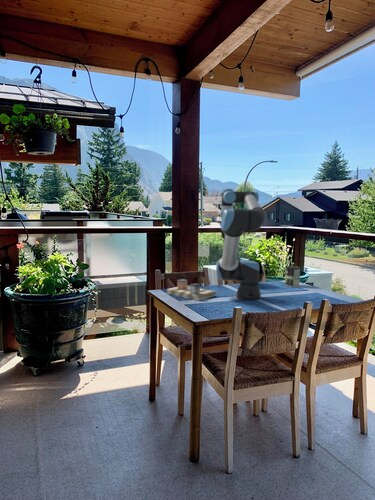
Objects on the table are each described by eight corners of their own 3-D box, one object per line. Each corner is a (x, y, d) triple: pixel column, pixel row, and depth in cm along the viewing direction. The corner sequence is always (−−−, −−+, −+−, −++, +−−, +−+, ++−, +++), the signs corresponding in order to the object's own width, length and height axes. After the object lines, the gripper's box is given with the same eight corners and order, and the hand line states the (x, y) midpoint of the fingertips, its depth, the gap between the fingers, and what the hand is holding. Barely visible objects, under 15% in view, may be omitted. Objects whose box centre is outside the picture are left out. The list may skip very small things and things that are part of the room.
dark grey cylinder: (255, 289, 251) (256, 262, 249) (230, 285, 263) (231, 259, 261) (267, 285, 267) (269, 259, 265) (243, 281, 279) (244, 257, 277)
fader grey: (200, 292, 225) (200, 284, 224) (194, 294, 221) (195, 285, 220) (194, 291, 227) (194, 283, 227) (189, 292, 223) (189, 284, 223)
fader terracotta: (187, 287, 237) (187, 280, 236) (182, 289, 233) (182, 281, 232) (182, 286, 240) (182, 279, 239) (176, 288, 236) (177, 280, 235)
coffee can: (285, 286, 263) (286, 267, 262) (283, 284, 273) (284, 265, 272) (300, 287, 262) (301, 268, 260) (298, 284, 272) (299, 265, 270)
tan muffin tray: (215, 296, 231) (215, 290, 230) (198, 300, 218) (198, 295, 217) (183, 289, 247) (184, 284, 247) (166, 293, 234) (166, 288, 234)
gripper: (226, 212, 250) (225, 246, 253) (216, 212, 240) (215, 247, 242) (236, 212, 246) (235, 247, 248) (226, 212, 235) (225, 248, 238)
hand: (225, 247), depth 245 cm, fingers closed
